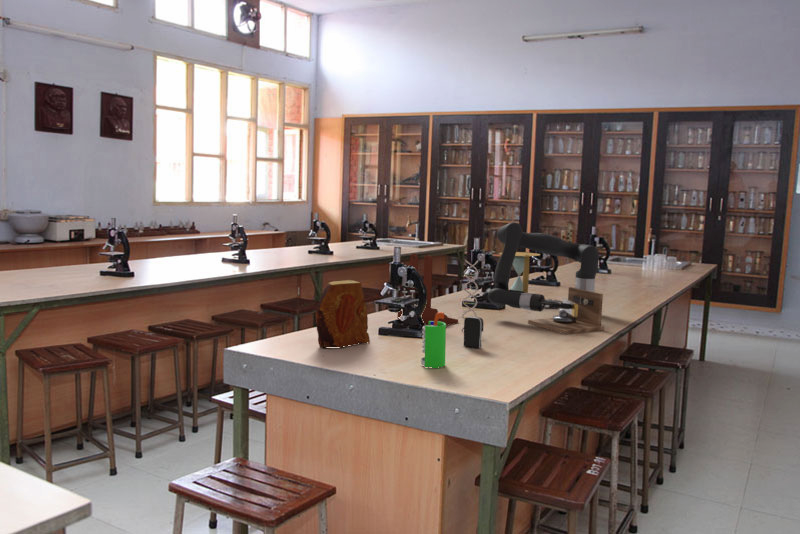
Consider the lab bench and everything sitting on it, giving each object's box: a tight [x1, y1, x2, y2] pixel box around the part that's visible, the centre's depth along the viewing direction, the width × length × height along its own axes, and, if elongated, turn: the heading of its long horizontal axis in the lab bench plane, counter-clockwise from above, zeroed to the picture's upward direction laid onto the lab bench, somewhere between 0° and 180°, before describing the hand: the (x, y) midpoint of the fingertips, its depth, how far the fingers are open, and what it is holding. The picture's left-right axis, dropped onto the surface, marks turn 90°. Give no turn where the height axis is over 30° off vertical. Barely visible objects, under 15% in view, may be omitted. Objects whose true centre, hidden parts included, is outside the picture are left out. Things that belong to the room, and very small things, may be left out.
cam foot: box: [552, 298, 578, 323], centre depth 307 cm, size 20×10×10 cm, turn 5°
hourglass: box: [498, 251, 541, 293], centre depth 381 cm, size 24×22×25 cm
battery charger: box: [463, 315, 484, 349], centre depth 264 cm, size 7×4×11 cm, turn 55°
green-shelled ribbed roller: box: [420, 311, 447, 369], centre depth 235 cm, size 9×8×18 cm
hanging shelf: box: [397, 253, 459, 326], centre depth 312 cm, size 24×13×30 cm, turn 47°
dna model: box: [461, 259, 479, 332], centre depth 289 cm, size 7×6×30 cm
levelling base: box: [527, 287, 605, 335], centre depth 307 cm, size 22×24×16 cm
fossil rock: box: [314, 279, 371, 348], centre depth 260 cm, size 24×8×24 cm, turn 128°
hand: (570, 306), depth 301 cm, fingers closed
